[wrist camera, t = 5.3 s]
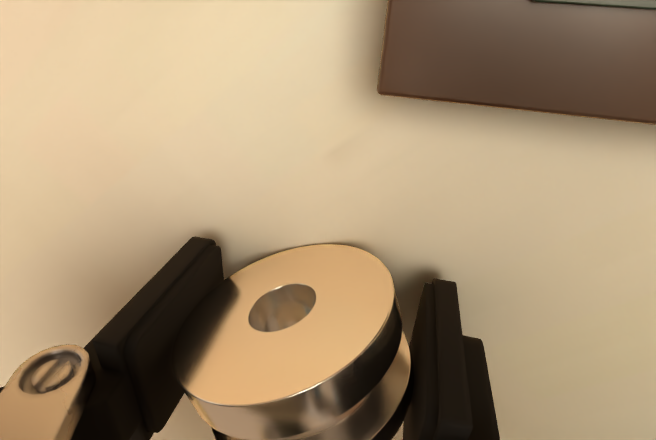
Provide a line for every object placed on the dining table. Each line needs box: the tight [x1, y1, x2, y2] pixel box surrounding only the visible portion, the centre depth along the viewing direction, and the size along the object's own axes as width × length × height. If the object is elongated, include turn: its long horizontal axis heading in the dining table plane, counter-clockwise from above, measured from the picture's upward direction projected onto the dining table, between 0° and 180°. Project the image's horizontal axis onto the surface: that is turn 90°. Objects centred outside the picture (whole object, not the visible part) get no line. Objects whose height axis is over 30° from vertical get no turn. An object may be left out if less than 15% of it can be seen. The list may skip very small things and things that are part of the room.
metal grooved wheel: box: [172, 244, 414, 440], centre depth 9 cm, size 5×3×5 cm, turn 106°
